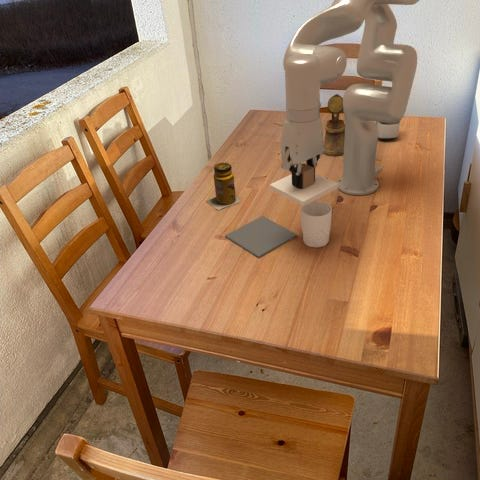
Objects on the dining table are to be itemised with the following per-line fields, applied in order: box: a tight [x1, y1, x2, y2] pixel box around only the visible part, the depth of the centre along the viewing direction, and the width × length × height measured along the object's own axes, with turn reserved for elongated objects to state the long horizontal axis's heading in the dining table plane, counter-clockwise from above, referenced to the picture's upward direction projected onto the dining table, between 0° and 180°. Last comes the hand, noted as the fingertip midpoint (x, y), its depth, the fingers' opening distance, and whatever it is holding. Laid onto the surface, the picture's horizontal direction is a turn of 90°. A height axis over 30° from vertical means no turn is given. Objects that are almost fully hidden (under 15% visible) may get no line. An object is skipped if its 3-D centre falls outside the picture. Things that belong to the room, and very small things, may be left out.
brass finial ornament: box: [322, 93, 345, 157], centre depth 168 cm, size 9×14×18 cm, turn 170°
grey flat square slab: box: [224, 215, 298, 259], centre depth 129 cm, size 14×14×1 cm
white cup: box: [300, 200, 333, 248], centre depth 123 cm, size 8×8×10 cm
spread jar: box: [374, 121, 401, 142], centre depth 175 cm, size 12×11×12 cm
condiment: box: [205, 162, 242, 211], centre depth 144 cm, size 7×8×12 cm
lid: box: [269, 162, 339, 207], centre depth 117 cm, size 12×12×6 cm
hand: (303, 183), depth 117 cm, fingers closed on lid, 3 cm apart
